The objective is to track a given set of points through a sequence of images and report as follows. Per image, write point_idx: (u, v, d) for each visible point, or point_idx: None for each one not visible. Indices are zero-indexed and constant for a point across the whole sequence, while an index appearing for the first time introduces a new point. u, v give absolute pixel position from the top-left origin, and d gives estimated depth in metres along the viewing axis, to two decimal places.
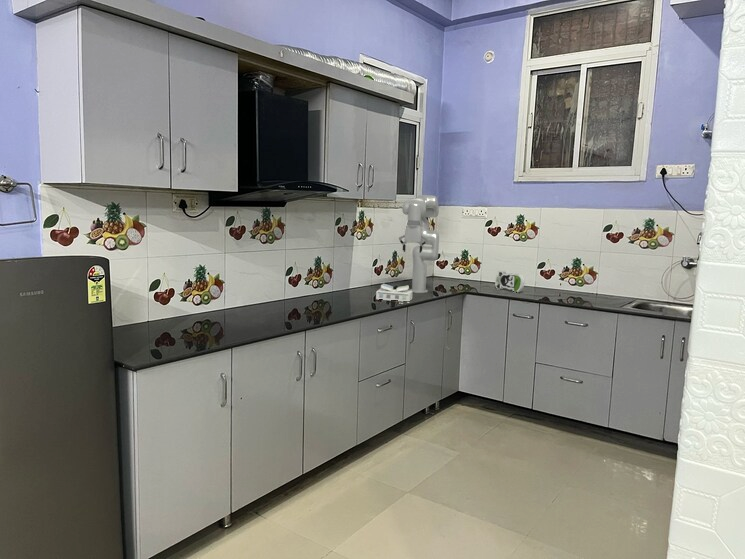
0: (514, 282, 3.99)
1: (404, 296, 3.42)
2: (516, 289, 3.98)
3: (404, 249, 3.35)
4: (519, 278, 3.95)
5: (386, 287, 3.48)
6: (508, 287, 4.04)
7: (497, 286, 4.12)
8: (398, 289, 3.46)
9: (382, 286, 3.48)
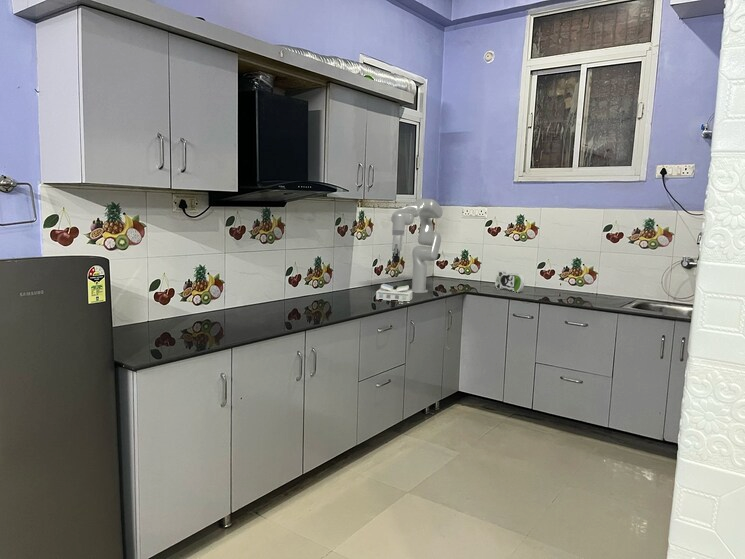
0: (514, 282, 3.99)
1: (404, 296, 3.42)
2: (516, 289, 3.98)
3: (399, 260, 3.49)
4: (519, 278, 3.95)
5: (386, 287, 3.48)
6: (508, 287, 4.04)
7: (497, 286, 4.12)
8: (398, 289, 3.46)
9: (382, 286, 3.48)
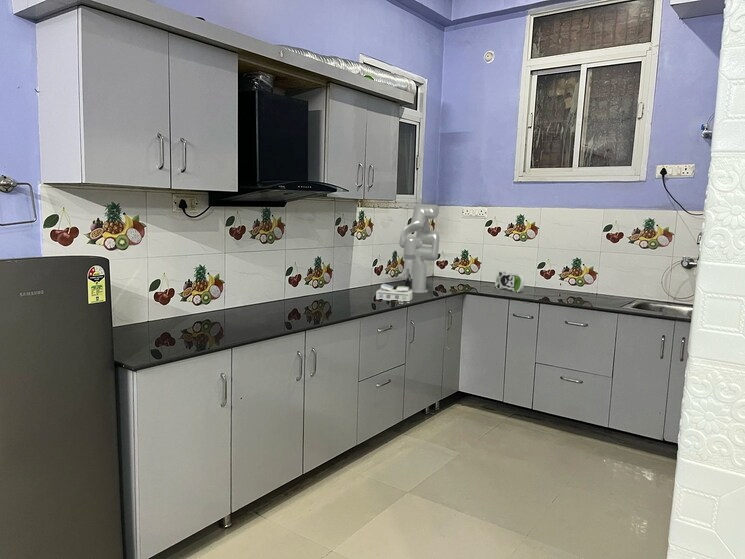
0: (514, 282, 3.99)
1: (404, 296, 3.42)
2: (516, 289, 3.98)
3: (410, 284, 3.47)
4: (519, 278, 3.95)
5: (386, 287, 3.48)
6: (508, 287, 4.04)
7: (497, 286, 4.12)
8: (398, 288, 3.46)
9: (382, 286, 3.48)
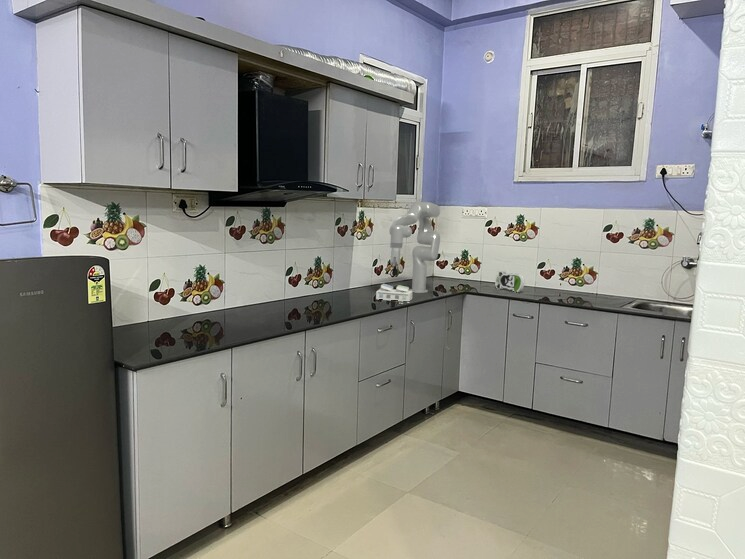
0: (514, 282, 3.99)
1: (404, 296, 3.42)
2: (516, 289, 3.98)
3: (397, 272, 3.48)
4: (519, 278, 3.95)
5: (386, 287, 3.48)
6: (508, 287, 4.04)
7: (497, 286, 4.12)
8: (398, 288, 3.46)
9: (382, 286, 3.48)
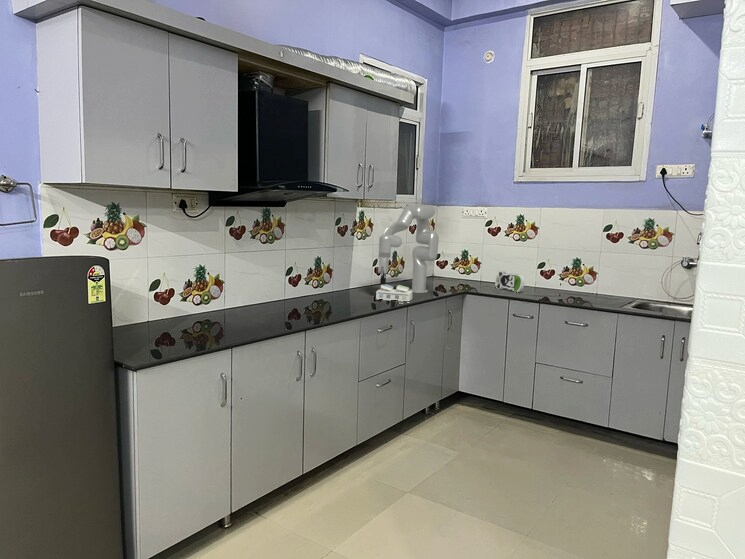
0: (514, 282, 3.99)
1: (404, 296, 3.42)
2: (516, 289, 3.98)
3: (385, 282, 3.50)
4: (519, 278, 3.95)
5: (386, 287, 3.48)
6: (508, 287, 4.04)
7: (497, 286, 4.12)
8: (398, 287, 3.46)
9: (382, 286, 3.48)
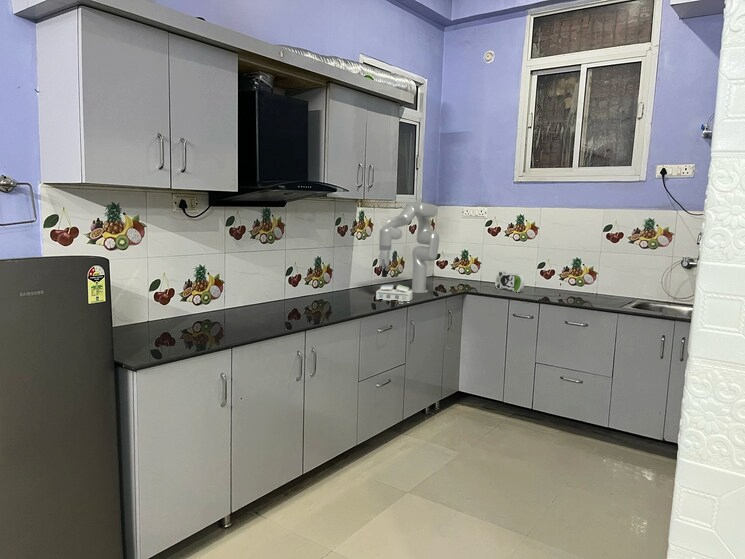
0: (514, 282, 3.99)
1: (404, 296, 3.42)
2: (516, 289, 3.98)
3: (386, 274, 3.50)
4: (519, 278, 3.95)
5: (386, 287, 3.48)
6: (508, 287, 4.04)
7: (497, 286, 4.12)
8: (398, 287, 3.46)
9: (382, 287, 3.48)
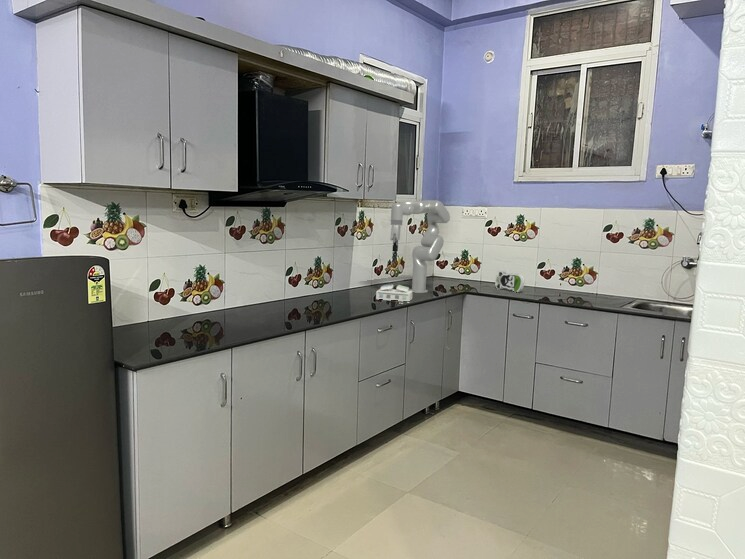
0: (514, 282, 3.99)
1: (404, 296, 3.42)
2: (516, 289, 3.98)
3: None
4: (519, 278, 3.95)
5: (386, 287, 3.48)
6: (508, 287, 4.04)
7: (497, 286, 4.12)
8: (398, 287, 3.46)
9: (382, 288, 3.48)
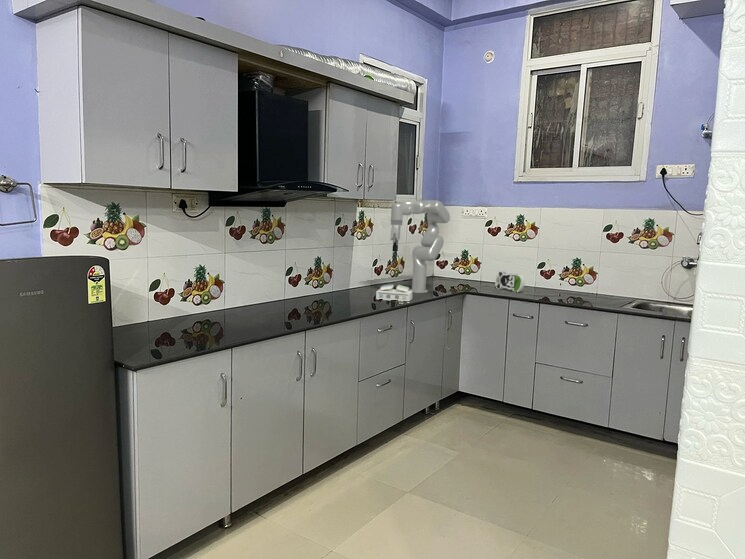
0: (514, 282, 3.99)
1: (404, 296, 3.42)
2: (516, 289, 3.98)
3: None
4: (519, 278, 3.95)
5: (386, 287, 3.48)
6: (508, 287, 4.04)
7: (497, 286, 4.12)
8: (398, 287, 3.46)
9: (382, 288, 3.48)
